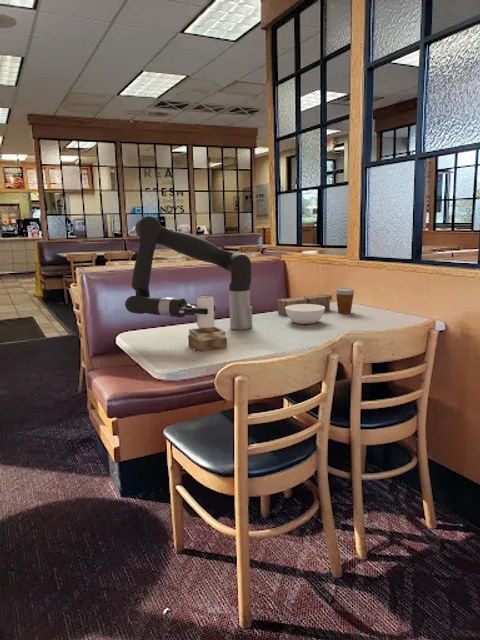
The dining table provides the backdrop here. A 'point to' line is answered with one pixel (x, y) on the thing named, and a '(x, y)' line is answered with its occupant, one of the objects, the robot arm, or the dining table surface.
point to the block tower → (305, 302)
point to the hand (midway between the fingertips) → (211, 310)
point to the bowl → (304, 313)
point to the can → (208, 303)
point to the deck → (207, 344)
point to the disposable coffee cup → (344, 300)
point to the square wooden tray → (207, 333)
